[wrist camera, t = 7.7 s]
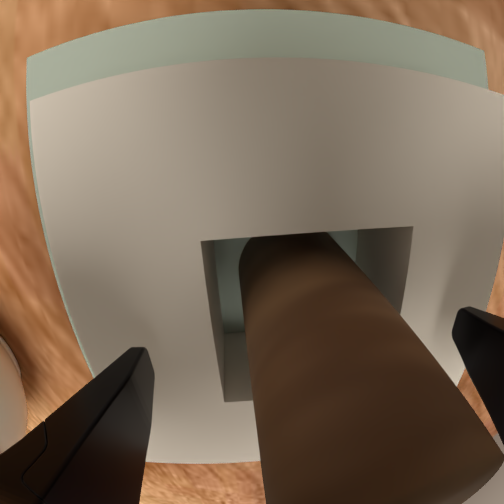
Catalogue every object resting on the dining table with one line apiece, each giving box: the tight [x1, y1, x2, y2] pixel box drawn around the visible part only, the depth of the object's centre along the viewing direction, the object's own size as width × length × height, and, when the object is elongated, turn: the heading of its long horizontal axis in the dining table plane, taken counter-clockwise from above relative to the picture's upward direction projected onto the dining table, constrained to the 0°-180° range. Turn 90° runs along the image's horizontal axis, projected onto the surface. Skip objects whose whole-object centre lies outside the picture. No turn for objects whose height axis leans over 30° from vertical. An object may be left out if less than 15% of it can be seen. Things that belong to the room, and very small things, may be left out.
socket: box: [26, 9, 504, 464], centre depth 11 cm, size 20×20×5 cm
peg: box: [239, 232, 504, 504], centre depth 8 cm, size 4×4×10 cm
